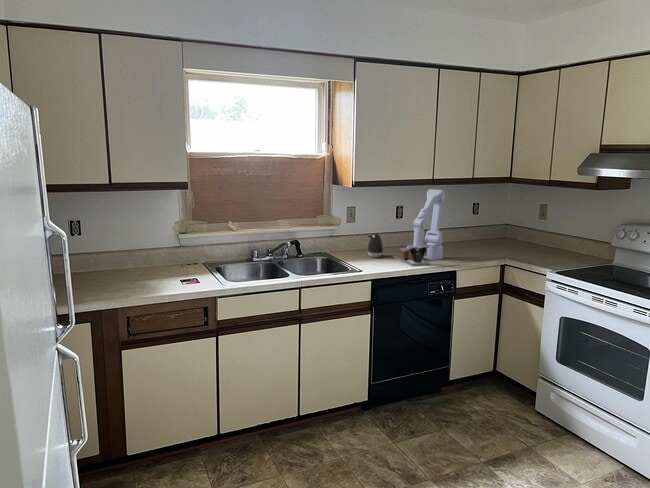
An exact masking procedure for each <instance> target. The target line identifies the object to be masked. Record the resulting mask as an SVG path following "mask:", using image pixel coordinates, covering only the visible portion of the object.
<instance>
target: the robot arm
mask: <svg viewBox="0 0 650 488" xmlns="http://www.w3.org/2000/svg"><path fill="white" fill-rule="evenodd" d="M445 200H446V191H445V190H444V189H436V188H435V189H432V188H429V189H428V190H427V192H426V202H425V204H424V206H423V208H421V209H420V211H419V213H418V215H417V217H416V218H414V219H413V222H412V226H413V231H414V232H413V244H412V245H406V248H407V249H408V250H409V249H410V252H411V254H412V258H413V261H415V260H416V253H417V250H416V249H419V252H420V253H421V254H422V260H423V259H424V258H425V259H427V260H430V261H433V260H444V258H443V257H444V247H443V245H442V243H443V233H442V231H441V230H440V222H441V215H442V207H443V204H444V203H445ZM432 207H433V209H432V217H431V223H430V229H429V230H427V231H426V234H425V228H426V227H427V222H428V218H429V216H430V214H431V212H430V210H431V208H432ZM424 235H425V236H424ZM424 242H425V244H424ZM425 253H426V256H425Z"/></svg>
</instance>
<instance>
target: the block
mask: <svg viewBox="0 0 650 488" xmlns="http://www.w3.org/2000/svg"><path fill="white" fill-rule="evenodd" d="M406 257H408V258H412V254H411V252H406Z"/></svg>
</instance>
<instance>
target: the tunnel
mask: <svg viewBox="0 0 650 488" xmlns="http://www.w3.org/2000/svg"><path fill="white" fill-rule="evenodd" d="M416 250H417V253H420V252H419V249H416ZM406 252H410V249H409V250H408V249H407V247H399V248H398V250H397V255H398V258H400V259H402V260H405V255H406Z"/></svg>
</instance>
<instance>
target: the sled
mask: <svg viewBox="0 0 650 488" xmlns="http://www.w3.org/2000/svg"><path fill="white" fill-rule="evenodd" d="M405 259H407V260H413V258H408V257H406V256H405ZM422 260H423V259H422V254H421V253H416V260H415V261H413V262H422Z"/></svg>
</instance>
